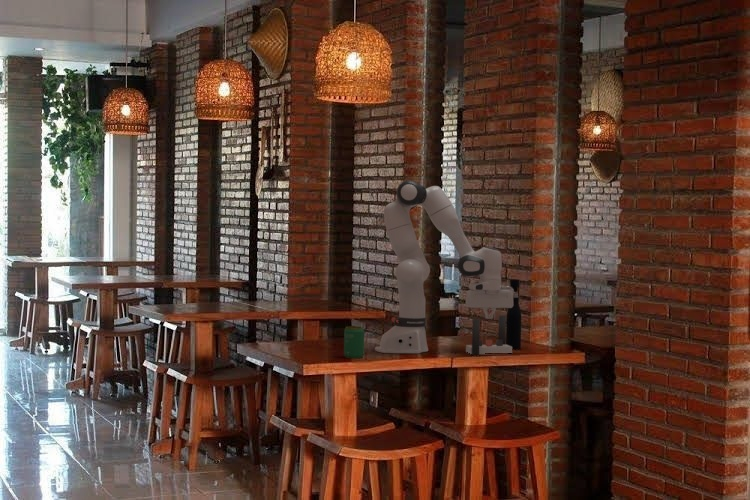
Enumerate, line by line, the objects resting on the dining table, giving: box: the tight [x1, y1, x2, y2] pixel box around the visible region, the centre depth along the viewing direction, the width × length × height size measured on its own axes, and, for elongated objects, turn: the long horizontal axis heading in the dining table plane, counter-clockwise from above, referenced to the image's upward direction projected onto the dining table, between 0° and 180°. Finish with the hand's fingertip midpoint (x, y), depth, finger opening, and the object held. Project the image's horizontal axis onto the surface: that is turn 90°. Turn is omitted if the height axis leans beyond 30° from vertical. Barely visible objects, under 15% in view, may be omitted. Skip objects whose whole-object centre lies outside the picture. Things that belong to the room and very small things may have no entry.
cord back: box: [497, 314, 507, 345], centre depth 452 cm, size 3×3×15 cm
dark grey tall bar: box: [471, 318, 481, 356], centre depth 436 cm, size 3×3×15 cm
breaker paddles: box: [479, 339, 503, 346], centre depth 444 cm, size 11×1×2 cm, turn 102°
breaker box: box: [465, 344, 513, 355], centre depth 444 cm, size 18×7×3 cm, turn 102°
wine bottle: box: [505, 278, 522, 350], centre depth 458 cm, size 6×6×30 cm
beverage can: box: [343, 325, 365, 359], centre depth 425 cm, size 8×8×12 cm
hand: (489, 318), depth 443 cm, fingers closed
